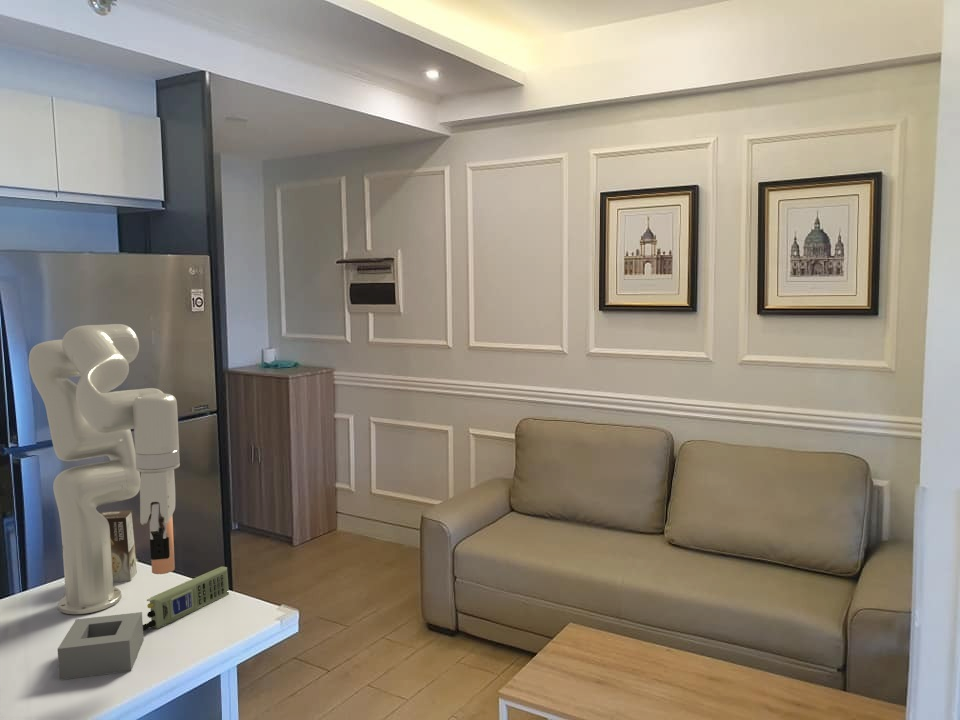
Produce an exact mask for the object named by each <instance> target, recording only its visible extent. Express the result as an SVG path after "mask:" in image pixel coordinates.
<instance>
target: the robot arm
mask: <svg viewBox="0 0 960 720" xmlns="http://www.w3.org/2000/svg"><path fill="white" fill-rule="evenodd" d="M139 350H140V342H139V338H138V335H137V334H136V332H135V331H134V330H133V329H132V327H130V326H129V325H126V324H123V323H121V324H120V323H110V324H109V323H108V324H87V325H79V326H76V327H73V328H71V329H69V330H68V331H67V332H65V334H64V336H62V339H53V340H48V341H43V342H40V343H37V344H36V345H34V346H33V347H32V348H31V349H30V352H29V355H28V367H29V368H28V369H29V374H30V377H31V380H32V382H33V384H34V385H35V388H36V389H37V391H38V393H39V395H40V397H41V399H42V401H43V404H44V406H45V407H44V408H45V410H46V415H47V422H48V426H49V432H50V436H51V437H50V438H51V443H52V446H53V450H54V453H55V455H56V457H57V458H58V460H60V461H64V462H75V461H81V460H88V459H94V458H100V457H105V456H107V457H108V458H109V460H108V461H102V462H94V463H88V464H83V465H79V466H78V465H77V466H74V467H70V468H68V469H65V470H62V471H61V472H60V473H58V474H57V476H56V477H55V478H54V480H53V483H52V484H53V490H52V491H53V494H54V498H55V502H56V506H57V509H58V515H59V522H60V532H61V544H62V560H63V573H64V588H65V591H64V592H65V595H64V597H62V598H61V599H60V600H59V601H58V604H57V605H58V606H57V607H58V610H59V611H60V612H61V613H64V614H67V615H86V614H90V613H97V612H99V611H103V610H105V609H108V608H110V607H112V606H114V605H115V604H117V603H118V602H119V601H120V600H121V599H122V590H121V589H119V588H117V587H115V586H114V582H113V573H112V557H111V540H110V527H109V523H108V521H107V519H106V518H105V517H104V516H103V515H102V514H100V513H99V512H100V511H98V510H97V508H98V507H100V506H104V505H108V504H112V503H117V502H121V501H125V500H129V499H132V498H134V497H136V496H137V495H138V494H139V503H140V504H139V505H140V506H139V510H140V511H139V513H140V515H139V516H140V517H139V518H140V519H139V522H140V524H141V525H142V526H145V525H146V524H147V523H149V519H150V523H149V546H150V549H149V550H150V559H152V560H158V559H168V558H169V556H170V550H169V537H167V522H168V521H169V520H170V519H171V517H172V518H173V514H174V512H175V510H176V482H175V470H176V469H178V468H179V467H180V465H181V463H180V459H181V458H180V443H179V442H180V438H179V435H180V434H179V417H178V415H179V414H178V402H177V399H176V397H175V396H174V395H173V394H170V393H165V392H163V391H162V390H160V389H158V388H153V387H150V388H148V387H146V388H139V389H127V390H116V391H113V390H115V389H116V388H118V387H119V386H121V385H122V384H123V383H124V382H125V381H126V379H127V377H128V376H129V372H130V366H129V364H130V363H132V362H133V361H135V359H136V358H137V357H138V353H139ZM73 377H80V378H79V380H78V382H77V384H76V383H75V382H73V381H72V380H71V379H69V378H73ZM131 430H133V432H134V434H133V433H132V431H131ZM133 435H134V437H133ZM159 519H164V520H163V521H161V522H159ZM160 525H163V529H162V527H160Z"/></svg>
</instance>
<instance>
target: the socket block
mask: <svg viewBox="0 0 960 720" xmlns="http://www.w3.org/2000/svg"><path fill="white" fill-rule="evenodd" d="M143 622H144V621H143V612H142V611H140V612H129V613H122V614H112V615H105V616H104V615H103V616H93V617H85V618H78V619H77V618H76V619H75V620H74V621H73V623H72V626H70V628H69V630H68V631H67V633H66V634H65V636H64V638H63V639H62V641H61V642H60V644H59V645H58V647H57V661H58V663H57V664H58V675H59V681H62V680H70V679H72V680H73V679H79V678H86V677H94V676H100V675H101V676H103V675H109V674H118V673H126V672H132V671H133V667H134V665H135V662H136V660H137V658H138V655H139V653H140V650H141V647H142V645H143V643H144V631H143V625H144V624H143Z"/></svg>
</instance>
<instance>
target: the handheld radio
mask: <svg viewBox="0 0 960 720" xmlns="http://www.w3.org/2000/svg"><path fill="white" fill-rule="evenodd" d="M228 576H229V575H228V567H227V566H219V567H217V568H215V569H213V570H210V571H208V572H206V573H204V574H201V575H199V576H196V577H194V578H192V579H190V580H188V581H185V582H182V583H180V584H178V585H176V586H173V587H171V588H169V589H167V590H164V591H162V592H160V593H157V594H155V595H152V596H151V597H150V598H148V599H146V601H147V602H149V603H147V608H148V609H150V611H148V612H147V615H146V616H147V618H149V619H150V621H148V622H147V623H144V624H143V632H145V631H147V630H149V629H150V628H154V629H161V628H163V627H164V626H166V625H169V624H171V623H173V622H175V621H176V620H179V619H181V618H183V617H184V616H187V615H189V614H191V613H193V612H195V611H197V610H199V608H200V609H202V608H203V606H204V607H206V606H208V605H210V604H211V603H214V602H216V601H218V600H221V599H222V598H224V597H226V596H228V595H230V590H229V577H228ZM227 591H229V592H227ZM205 605H206V606H205ZM201 607H202V608H201Z"/></svg>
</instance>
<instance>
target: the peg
mask: <svg viewBox="0 0 960 720" xmlns="http://www.w3.org/2000/svg"><path fill="white" fill-rule="evenodd" d="M163 520H164V519H159V522H161V521H163ZM148 523H149V524H150V519H149V520H148ZM160 527H162V529H163V525H160ZM167 537H169V550H170V556H169V558H168V559H158V560H152V559H151V558H150V559H151V560H150V562H151V573H152V574H155V575H165V574H169V573H172V572H174V570H175V569H176V566H175V564H176V562H175V546H174V545H175V543H174V540H175V539H174V523H173V516H172V517H171V519H170V520H169V521H168V522H167Z"/></svg>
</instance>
